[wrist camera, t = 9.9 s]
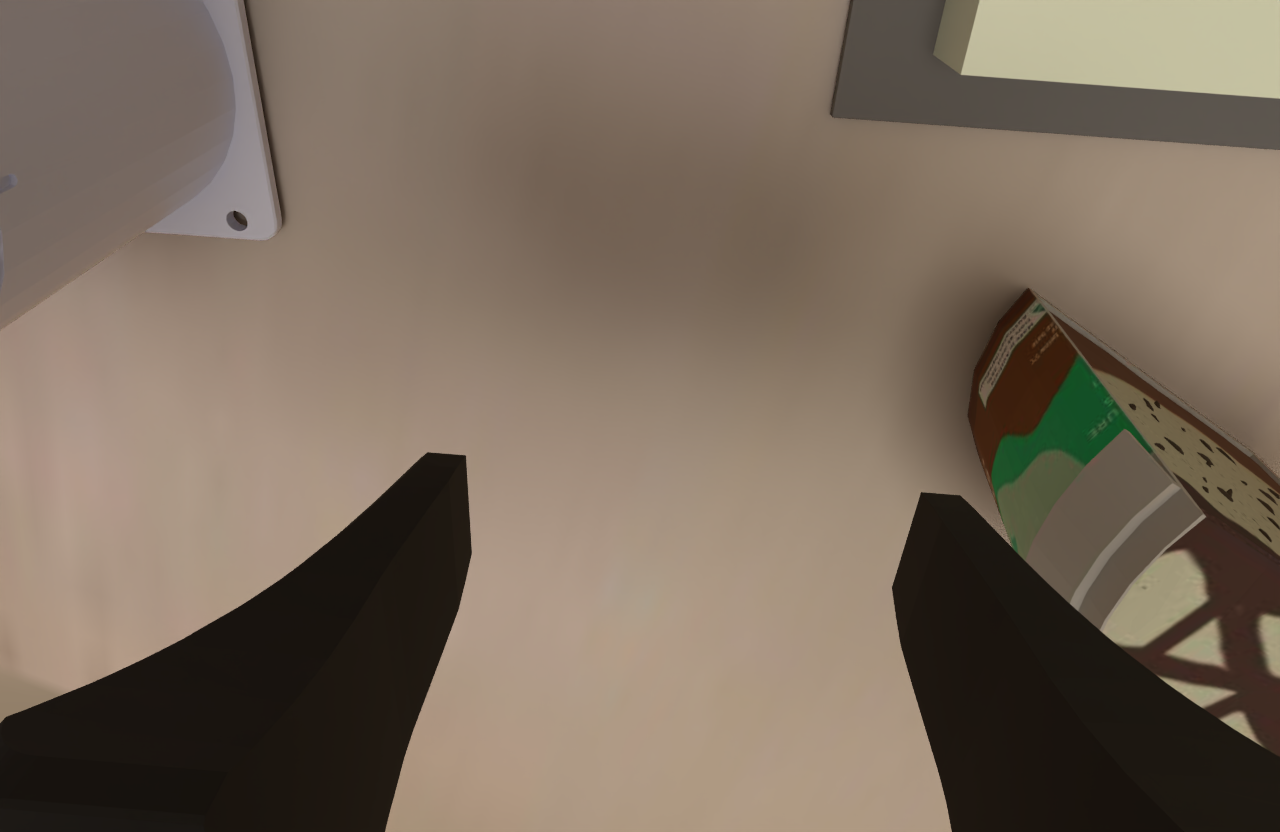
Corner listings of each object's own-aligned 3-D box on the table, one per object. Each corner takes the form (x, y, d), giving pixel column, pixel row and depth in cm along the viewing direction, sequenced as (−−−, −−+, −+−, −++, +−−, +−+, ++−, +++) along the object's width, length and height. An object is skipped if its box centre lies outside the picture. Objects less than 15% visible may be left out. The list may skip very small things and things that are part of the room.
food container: (831, 421, 25) (911, 704, 16) (987, 257, 22) (1182, 499, 13) (1117, 597, 28) (1305, 908, 20) (1286, 476, 25) (1589, 779, 17)
